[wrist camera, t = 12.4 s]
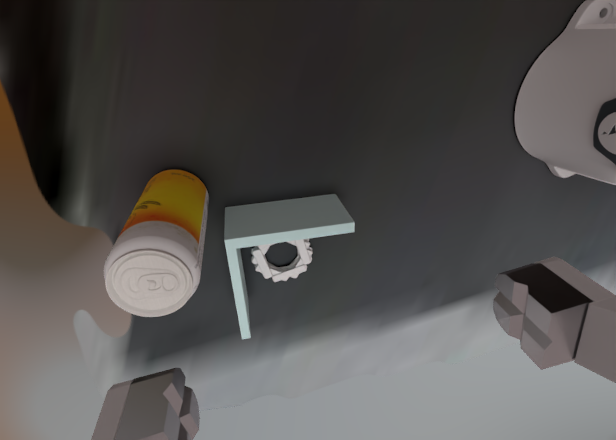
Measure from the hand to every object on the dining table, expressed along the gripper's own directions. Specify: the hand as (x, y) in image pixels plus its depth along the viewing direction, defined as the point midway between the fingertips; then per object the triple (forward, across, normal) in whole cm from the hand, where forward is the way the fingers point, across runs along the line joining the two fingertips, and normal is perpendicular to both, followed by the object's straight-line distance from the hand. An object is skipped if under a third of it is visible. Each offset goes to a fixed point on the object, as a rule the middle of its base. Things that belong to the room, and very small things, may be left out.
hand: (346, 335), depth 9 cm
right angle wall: (+30, +1, +15) cm, 34 cm away
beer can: (+29, +10, +6) cm, 32 cm away
